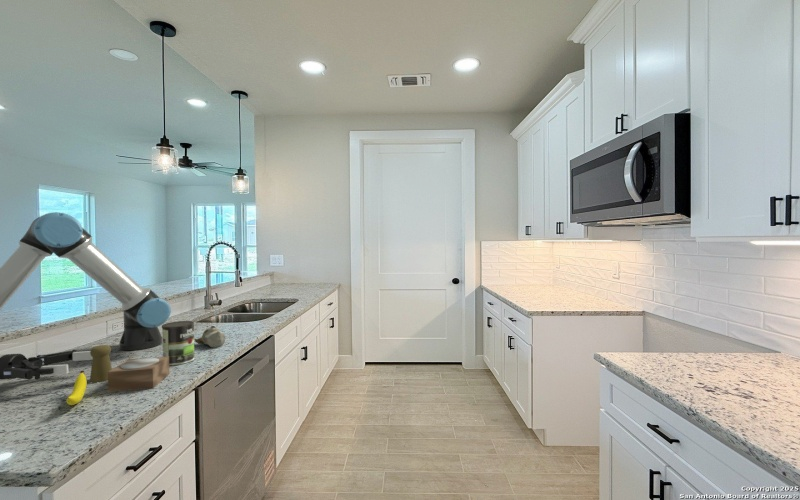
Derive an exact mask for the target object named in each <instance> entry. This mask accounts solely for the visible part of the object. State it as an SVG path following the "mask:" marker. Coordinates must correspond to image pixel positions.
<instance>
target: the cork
mask: <svg viewBox="0 0 800 500" xmlns="http://www.w3.org/2000/svg"><path fill="white" fill-rule="evenodd" d="M90 351H91V352H90V354H91V356H92V357H93V360H91V361H92V362H91V368H90V374H89V376H90V378H89V383H90V382H92V384H98V383H97V382H99V383H103V382H106V381H107V382H108V372H109V371H110V370H112V369H113V367H112V364H111V358H110V354H111V351H112V348H111V346H110V345H107V344H102V345H97V346H93V347H91V350H90Z"/></svg>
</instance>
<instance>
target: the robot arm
mask: <svg viewBox="0 0 800 500" xmlns="http://www.w3.org/2000/svg"><path fill="white" fill-rule="evenodd" d="M53 254H54V255H55V256H57V258H63V259H67V260H69V261H70V262H71V263H72V264H74V265H75V266H76V267H78V268H79V269H80V270H81V271H82V272H84V273H85V274H86V275H87V276H89V277H90V278H91V279H92V280H93V281H94V282H95V283H97V284H98V285H99V286H101V287H102V288H103V289H104V290H105V291H106V292H108V293H109V294H110V295H111V296H112V297H113V298H114V299H116V300H117V301H118V302H120V304H121V310H122V311H123V332H122V335H121V337H120V340H119V343H118V345H119V346H118V348H119V350H121V351H139V350H145V349H150V348H153V347H157V346H159V345H161V344H163V335H162V334H161V331H160V329H159V327H160V326H162V325H164V324H166V322H167V321H168V319H169V318H170V316H171V312H172V311H171V310H172V309H171V305H170V304H169V303H168V301H166V300H165V299H164V298H161V297H160V296H158V295H157V292H156V291H153V290H152V289H151V288H148V287H147V288H146V287H145V288H144V287H142V286H141V285H140V284H139V283H137V281H135V280H134V278H132V277H131V276H130V275H128V273H126V272H125V271H124V270H123V269H122V268H121V267H120V266H119V265H118V264H117V263H115V262H114V261H113V260H112V259H111V258H110V257H109V256H107V255H106V253H104V252H103V251H102V250H101V249H99V248H98V246H97V245H95V243H93V236H92V235H91V234H90V233H89V232H88V231H87V230H86V229H84V227H83V226H82V223H80V221H79V220H78V219H77V218H76V217H74V216H73V215H71V214H70V215H69V214H68V213H64V212H48V213H45V214H43V215H40V216H39V217H37V218H36V219H34V220H33V221H32V222H31V224H30V226H29V227H28V229H27V231H26V232H25V234H23V236H22V237H21V239H20V240H19V241H18V248H16V250H15V251H14V252H13V253H12V255H10V256H9V258H8V259H7V260H6V261H5V262H4V263H3V264H2V266H0V310H1V309H2V308H4V306H5V305H6V304H7V303H8V301H9V300H10V299H11V298H12V297H13V296H14V294H15V293H16V292H17V291H18V290H19V288H20V287H21V286H22V285H23V284H24V283H25V281H26V280H28V278H29V277H30V276H31V275H32V273H33V272H34V271H35V270H36V269H37V268H38V267H39V265H40V264H41V263H42V262H43V260H44V259H45V258H46V257H51V256H52V255H53ZM90 352H91V350H89V351H88V350H87V351H77V350H76V349H71V350H70V351H69V350H68V351H62V352H56V353H48V354H37V355H36V356H31V357H26V356H25V355H24V354H22V353H8V354H4V353H3V354H2V353H1V354H0V380H2V381H3V380H12V379H14V380H15V379H20V380H21V379H22V380H31V379H33V377H34V380H39V379H41V376H42V377H45V376H55V375H56V376H58V375H67V374H69V364H59V363H63V362H68V361H73V362H77V361H90V360H91V361H92V360H93V357H92V356H91V354H90Z"/></svg>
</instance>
